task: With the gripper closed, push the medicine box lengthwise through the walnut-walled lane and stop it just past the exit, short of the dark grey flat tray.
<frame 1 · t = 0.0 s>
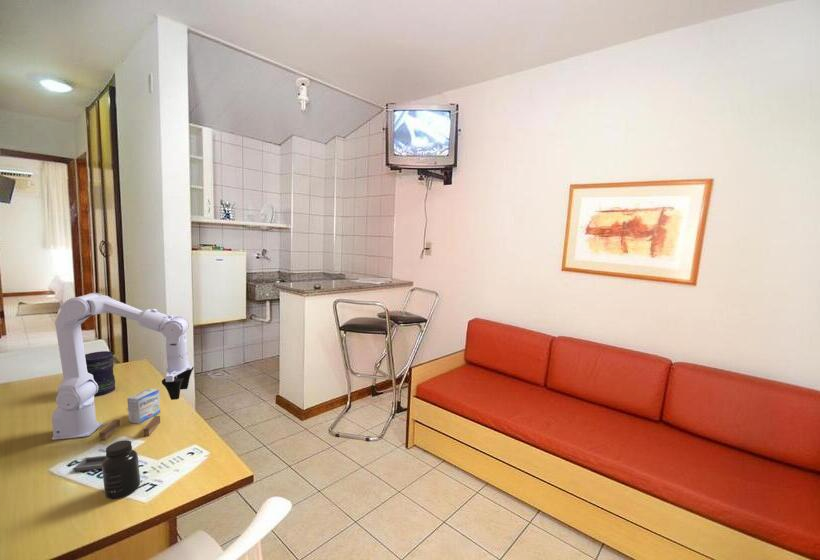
hand: (179, 393, 117), 10 cm above the table, fingers open, 7 cm apart
dark grey flat tray: (100, 464, 96), on the table
medicine box: (145, 417, 121), on the table
supplement bottle: (122, 491, 87), on the table
lane wall right: (152, 429, 114), on the table
lane wall left: (110, 433, 111), on the table
storage jar: (99, 392, 138), on the table
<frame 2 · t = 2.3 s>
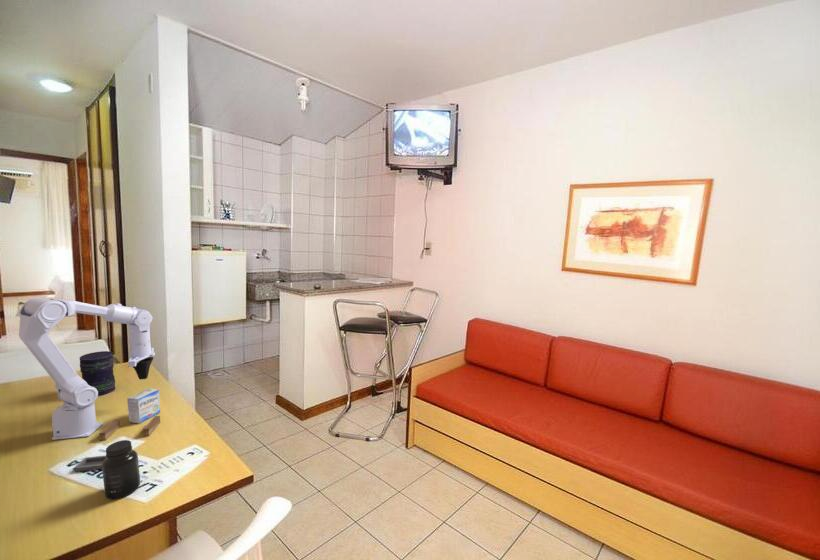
hand: (143, 378, 127), 11 cm above the table, fingers closed
nothing on the table moved.
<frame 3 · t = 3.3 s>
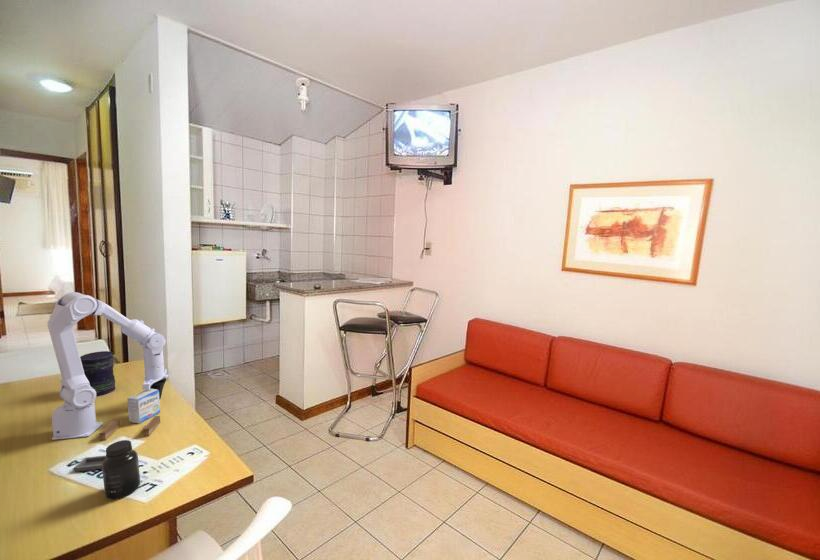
hand: (156, 399, 129), 2 cm above the table, fingers closed
nothing on the table moved.
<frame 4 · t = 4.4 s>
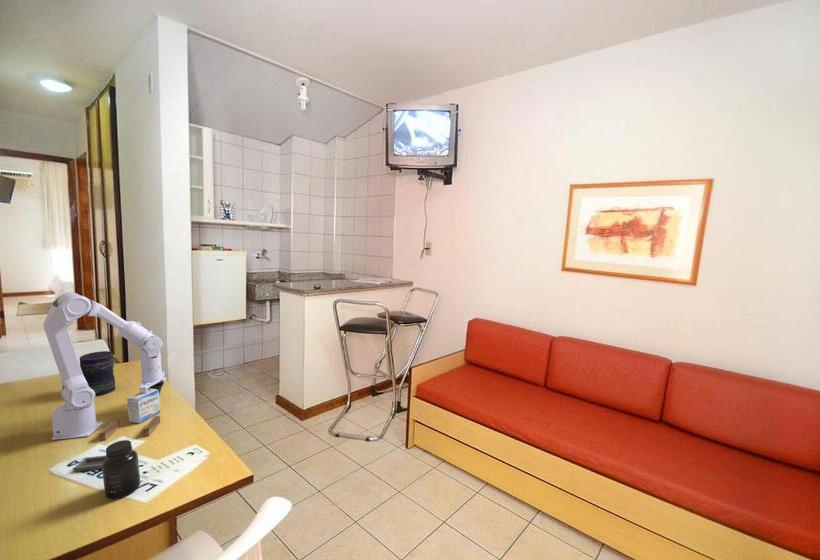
hand: (154, 403, 127), 2 cm above the table, fingers closed
medicine box: (145, 417, 121), on the table, touching gripper
everything else where it was.
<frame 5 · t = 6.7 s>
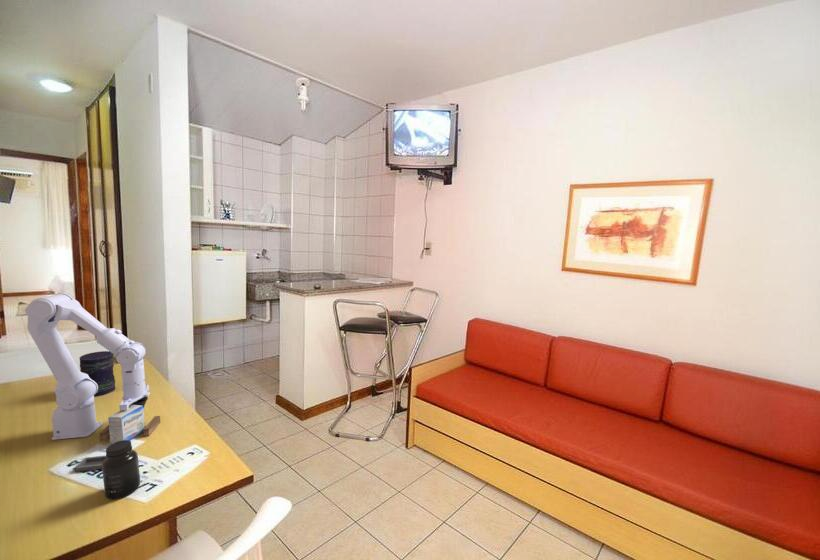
hand: (136, 420, 115), 2 cm above the table, fingers closed
medicine box: (128, 437, 109), on the table, touching gripper
everything else where it was.
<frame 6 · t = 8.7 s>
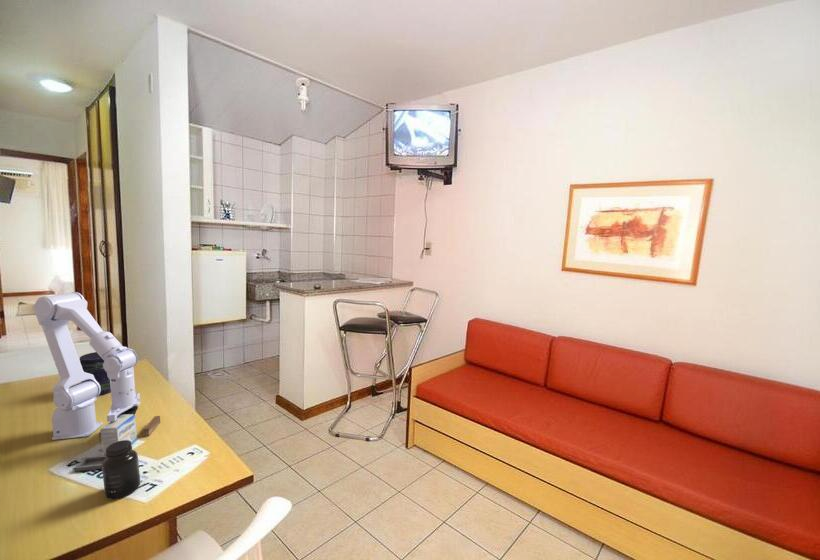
hand: (126, 431, 109), 2 cm above the table, fingers closed
medicine box: (120, 448, 103), on the table, touching gripper
everything else where it was.
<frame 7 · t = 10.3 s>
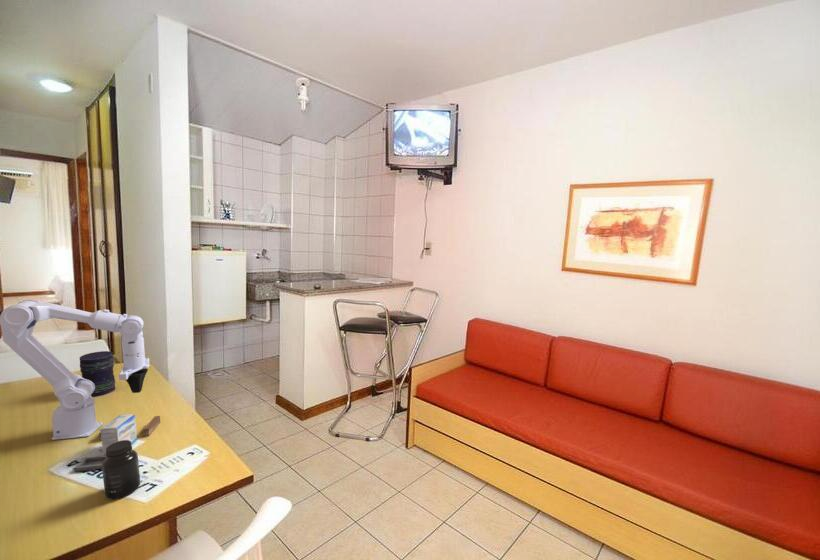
hand: (136, 391, 117), 10 cm above the table, fingers closed
medicine box: (120, 449, 103), on the table
everything else where it was.
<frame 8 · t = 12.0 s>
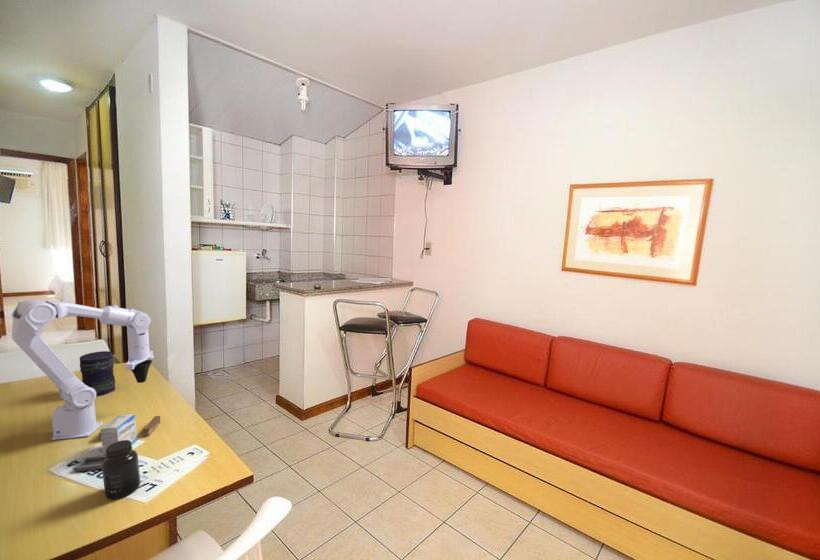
hand: (141, 381, 124), 10 cm above the table, fingers closed
nothing on the table moved.
at the end: medicine box inside the target area (1.5 cm from its centre), on the table; medicine box touching table; medicine box tilted 0° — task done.
